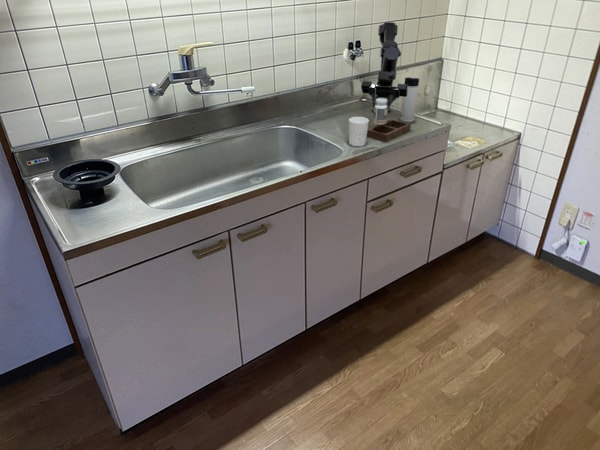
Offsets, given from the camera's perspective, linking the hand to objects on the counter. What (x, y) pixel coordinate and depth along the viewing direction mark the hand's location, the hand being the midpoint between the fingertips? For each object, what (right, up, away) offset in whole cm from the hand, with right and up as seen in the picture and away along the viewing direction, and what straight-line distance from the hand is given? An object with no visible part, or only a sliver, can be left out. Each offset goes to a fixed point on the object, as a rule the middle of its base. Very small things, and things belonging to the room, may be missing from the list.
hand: (380, 107), depth 190 cm
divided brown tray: (+5, -9, +10) cm, 14 cm away
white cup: (-10, -15, 0) cm, 18 cm away
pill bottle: (+1, -5, +5) cm, 7 cm away
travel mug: (+16, -1, +23) cm, 28 cm away
